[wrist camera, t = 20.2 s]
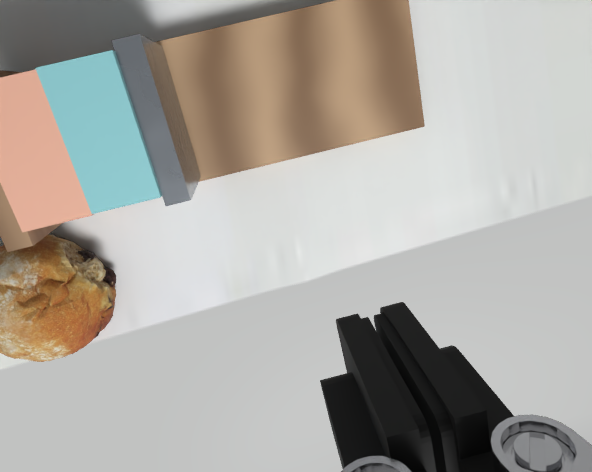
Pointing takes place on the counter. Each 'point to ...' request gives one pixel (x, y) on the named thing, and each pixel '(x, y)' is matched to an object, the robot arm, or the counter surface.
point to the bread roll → (52, 299)
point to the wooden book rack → (285, 88)
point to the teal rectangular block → (100, 130)
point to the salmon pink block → (35, 157)
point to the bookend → (159, 116)
